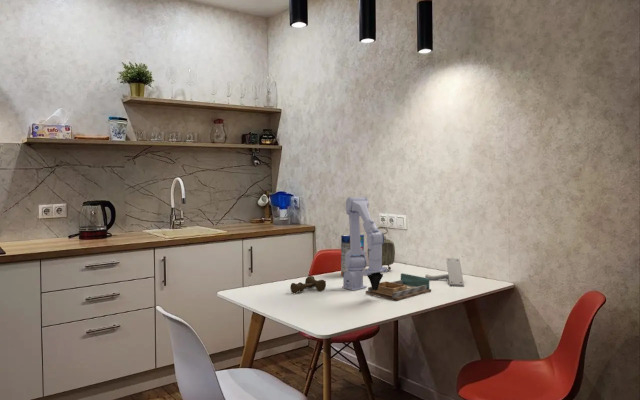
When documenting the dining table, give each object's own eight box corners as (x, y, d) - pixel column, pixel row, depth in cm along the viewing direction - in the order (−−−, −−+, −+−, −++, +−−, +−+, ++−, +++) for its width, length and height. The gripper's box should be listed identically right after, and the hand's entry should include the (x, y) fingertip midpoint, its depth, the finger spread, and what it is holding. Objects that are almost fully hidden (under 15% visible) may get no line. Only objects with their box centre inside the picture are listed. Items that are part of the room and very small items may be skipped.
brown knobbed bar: (286, 292, 223) (319, 285, 236) (299, 297, 216) (332, 289, 229) (286, 280, 223) (319, 273, 236) (299, 284, 216) (332, 277, 228)
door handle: (462, 296, 239) (458, 270, 256) (463, 284, 235) (459, 258, 252) (426, 294, 242) (424, 268, 259) (427, 282, 238) (425, 256, 254)
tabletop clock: (392, 269, 279) (392, 226, 278) (395, 272, 270) (396, 228, 269) (367, 269, 278) (367, 226, 277) (370, 272, 269) (370, 228, 268)
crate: (392, 296, 210) (392, 289, 210) (371, 291, 219) (372, 284, 219) (406, 292, 217) (406, 285, 217) (385, 288, 226) (386, 281, 226)
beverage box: (340, 275, 260) (341, 235, 258) (354, 273, 267) (354, 233, 266) (350, 277, 255) (350, 236, 254) (363, 274, 262) (364, 234, 261)
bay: (396, 300, 207) (396, 287, 207) (365, 293, 221) (365, 280, 220) (431, 291, 225) (431, 278, 225) (400, 284, 238) (400, 273, 238)
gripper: (371, 262, 203) (370, 294, 203) (392, 258, 212) (392, 288, 213) (358, 260, 208) (358, 291, 208) (380, 256, 218) (380, 286, 218)
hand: (374, 289), depth 211 cm, fingers closed
